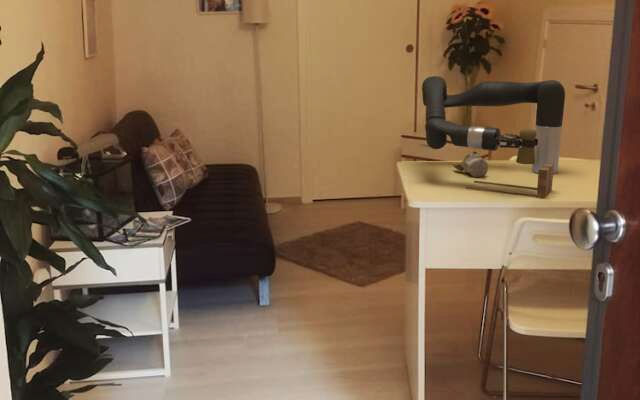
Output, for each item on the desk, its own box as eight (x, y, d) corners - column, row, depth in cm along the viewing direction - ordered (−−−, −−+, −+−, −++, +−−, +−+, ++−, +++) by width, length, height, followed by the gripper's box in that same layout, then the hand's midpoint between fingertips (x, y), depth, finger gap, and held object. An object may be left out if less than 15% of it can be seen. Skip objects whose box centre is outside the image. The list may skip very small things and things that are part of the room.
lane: (475, 181, 247) (476, 155, 245) (551, 190, 236) (554, 163, 233) (465, 188, 237) (466, 162, 235) (544, 198, 225) (547, 170, 223)
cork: (535, 164, 228) (539, 130, 225) (516, 163, 229) (519, 129, 226) (534, 161, 234) (537, 127, 231) (515, 159, 235) (518, 126, 232)
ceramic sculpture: (468, 154, 249) (452, 149, 263) (467, 178, 250) (451, 172, 265) (496, 153, 251) (479, 148, 265) (495, 178, 252) (478, 171, 267)
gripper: (488, 146, 243) (539, 151, 235) (476, 152, 231) (530, 158, 223) (490, 124, 241) (542, 128, 233) (478, 129, 229) (532, 135, 221)
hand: (536, 143), depth 228 cm, fingers closed on cork, 3 cm apart
